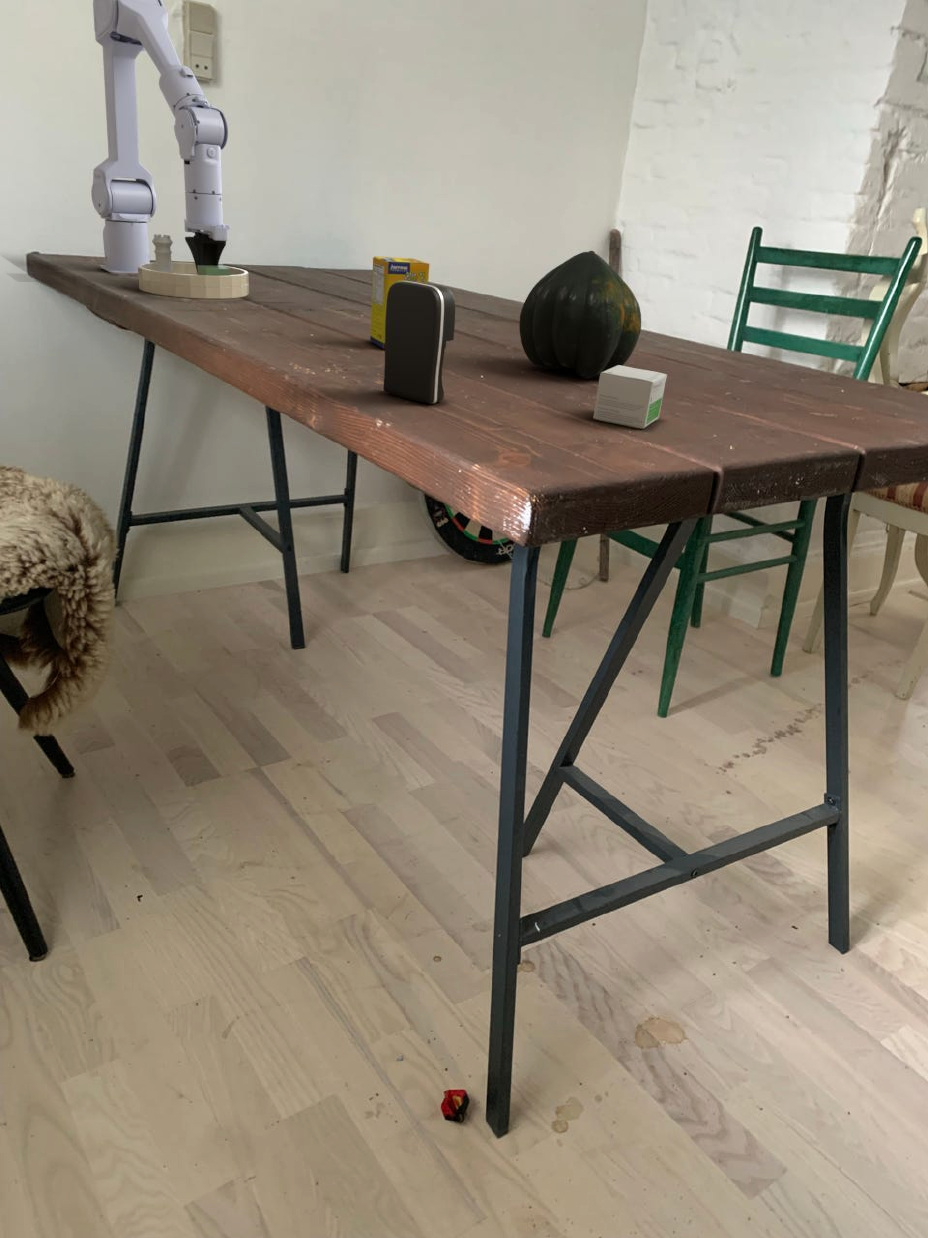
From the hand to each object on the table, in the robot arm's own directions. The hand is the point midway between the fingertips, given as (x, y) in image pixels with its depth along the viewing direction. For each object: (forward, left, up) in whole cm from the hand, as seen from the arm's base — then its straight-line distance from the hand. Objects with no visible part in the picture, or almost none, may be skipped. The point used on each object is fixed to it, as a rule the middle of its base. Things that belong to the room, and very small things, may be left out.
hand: (207, 283), depth 150 cm
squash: (+66, +24, -2) cm, 70 cm away
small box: (+88, +13, -2) cm, 89 cm away
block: (+3, 0, -1) cm, 4 cm away
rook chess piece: (-2, -6, -1) cm, 7 cm away
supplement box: (+47, +9, -2) cm, 48 cm away
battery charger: (+74, -4, -2) cm, 74 cm away
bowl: (+1, -3, -2) cm, 3 cm away
